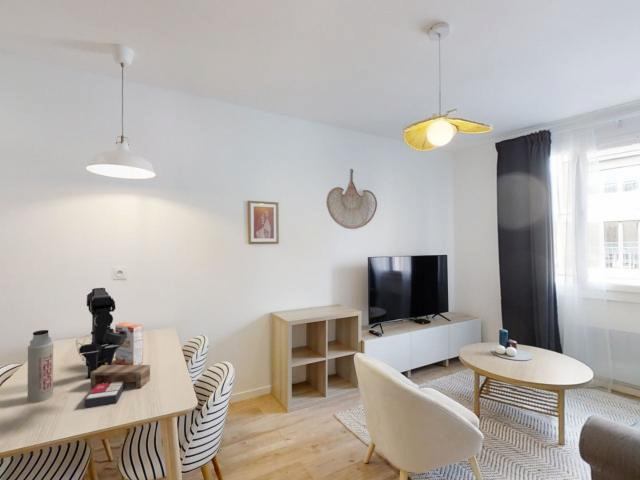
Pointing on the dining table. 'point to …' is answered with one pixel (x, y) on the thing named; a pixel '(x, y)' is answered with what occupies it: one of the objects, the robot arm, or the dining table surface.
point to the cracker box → (130, 344)
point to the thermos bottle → (40, 367)
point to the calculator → (105, 394)
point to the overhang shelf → (121, 374)
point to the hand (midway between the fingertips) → (102, 367)
